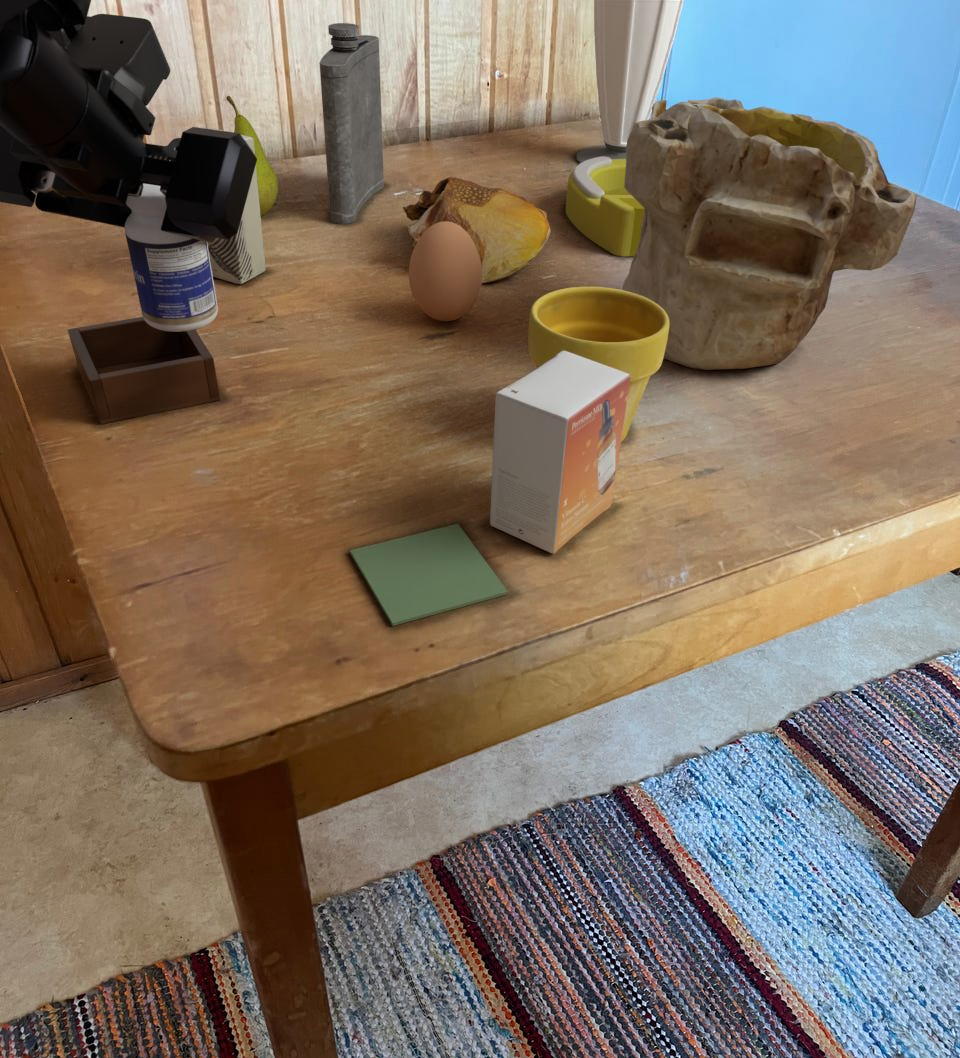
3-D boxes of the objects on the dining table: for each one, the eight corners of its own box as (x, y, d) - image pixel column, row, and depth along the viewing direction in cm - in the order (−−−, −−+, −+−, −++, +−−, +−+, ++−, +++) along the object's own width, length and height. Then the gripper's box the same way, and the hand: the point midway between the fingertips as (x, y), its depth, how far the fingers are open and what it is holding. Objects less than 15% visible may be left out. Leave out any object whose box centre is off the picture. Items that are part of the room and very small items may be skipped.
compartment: (101, 424, 78) (89, 380, 75) (78, 371, 84) (67, 328, 81) (220, 400, 81) (213, 357, 78) (190, 350, 87) (183, 309, 85)
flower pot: (584, 384, 85) (597, 272, 78) (676, 433, 79) (699, 318, 72) (496, 423, 80) (501, 307, 73) (587, 478, 74) (603, 358, 67)
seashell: (566, 195, 107) (542, 219, 95) (550, 266, 111) (525, 298, 99) (421, 158, 108) (379, 177, 96) (411, 229, 112) (369, 256, 100)
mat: (392, 626, 61) (392, 622, 61) (350, 553, 66) (349, 550, 66) (507, 594, 64) (507, 591, 64) (457, 526, 69) (458, 523, 69)
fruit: (276, 226, 109) (264, 107, 101) (224, 224, 109) (207, 105, 101) (285, 208, 113) (273, 92, 105) (234, 206, 113) (219, 90, 105)
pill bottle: (143, 305, 78) (116, 172, 71) (217, 300, 79) (197, 168, 72) (142, 337, 74) (114, 198, 67) (220, 331, 75) (200, 195, 68)
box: (201, 275, 99) (178, 137, 90) (229, 260, 102) (209, 125, 93) (243, 286, 97) (224, 147, 88) (270, 271, 100) (254, 135, 91)
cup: (607, 179, 124) (630, -25, 109) (559, 153, 131) (574, -42, 117) (680, 167, 128) (711, -30, 114) (629, 142, 136) (652, -46, 121)
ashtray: (582, 256, 105) (586, 208, 102) (557, 190, 121) (560, 146, 117) (731, 256, 107) (741, 209, 103) (688, 191, 122) (695, 147, 118)
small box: (553, 557, 67) (566, 420, 60) (487, 526, 69) (493, 391, 62) (614, 505, 72) (634, 372, 64) (551, 477, 74) (563, 347, 67)
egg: (444, 341, 90) (445, 243, 84) (394, 317, 93) (392, 221, 87) (495, 319, 94) (499, 224, 87) (445, 297, 97) (446, 203, 91)
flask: (320, 221, 111) (306, 38, 98) (358, 180, 121) (349, 10, 109) (351, 225, 110) (341, 41, 98) (386, 183, 120) (381, 12, 108)
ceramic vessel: (895, 207, 95) (980, 1, 71) (835, 438, 93) (902, 305, 68) (666, 170, 100) (672, -35, 76) (602, 389, 97) (587, 249, 73)
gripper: (221, -15, 56) (319, 142, 71) (-52, -43, 60) (96, 111, 75) (171, 171, 56) (280, 289, 71) (-100, 130, 60) (59, 250, 75)
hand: (177, 229), depth 73 cm, fingers closed on pill bottle, 6 cm apart
